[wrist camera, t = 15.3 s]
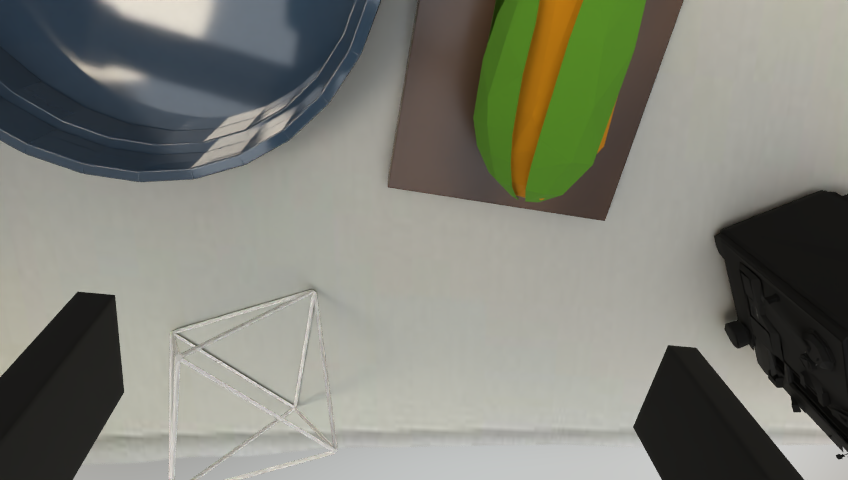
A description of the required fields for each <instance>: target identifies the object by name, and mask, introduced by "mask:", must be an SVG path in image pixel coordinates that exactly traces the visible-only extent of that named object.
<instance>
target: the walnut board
mask: <svg viewBox="0 0 848 480" xmlns="http://www.w3.org/2000/svg"><path fill="white" fill-rule="evenodd" d="M495 2H496V0H418V2H417V8H416V14H415V20H414V26H413V32H412V38H411V44H410V50H409V56H408V62H407V68H406V74H405V80H404V86H403V92H402V98H401V104H400V110H399V116H398V121H397V127H396V133H395V139H394V145H393V151H392V157H391V163H390V169H389V175H388V187H390V188H397V189H403V190H409V191H416V192H422V193H429V194H435V195H442V196H448V197H454V198H461V199H467V200H474V201H480V202H487V203H493V204H499V205H506V206H512V207H519V208H525V209H532V210H538V211H544V212H551V213H557V214H564V215H570V216H577V217H583V218H590V219H596V220H602V221H605V219H606V216H607V213H608V210H609V208H610V205H611V202H612V199H613V196H614V194H615V191H616V188H617V185H618V182H619V180H620V177H621V174H622V171H623V168H624V166H625V163H626V160H627V157H628V154H629V152H630V149H631V146H632V143H633V140H634V138H635V135H636V132H637V129H638V126H639V124H640V121H641V118H642V115H643V112H644V109H645V107H646V104H647V101H648V98H649V95H650V93H651V90H652V87H653V84H654V81H655V79H656V76H657V73H658V70H659V67H660V65H661V62H662V59H663V56H664V53H665V51H666V48H667V45H668V42H669V39H670V37H671V34H672V31H673V28H674V25H675V23H676V20H677V17H678V14H679V11H680V9H681V6H682V3H683V0H646V3H645V7H644V12H643V16H642V20H641V24H640V29H639V33H638V37H637V41H636V46H635V50H634V53H633V55H632V58H631V61H630V64H629V66H628V69H627V72H626V75H625V77H624V80H623V83H622V86H621V88H620V91H619V94H618V97H617V101H616V104H615V108H614V112H613V115H612V119H611V123H610V126H609V130H608V133H607V137H606V141H605V144H604V147H603V148H602V149H601V150H600V151H599V152H598V153H597V154H596V157H595V160H594V163H593V165H592V166H591V167H590V168H589V169H588V170H587V171H586V172H585V173H584V174H583V175H582V176H581V177H580V178H579V179H578V180H577V181H576V182H575V183H574V184H573V185H572V186H571V187H570V188H569V189H568V190H567V191H566V192H565V193H564V194H563V195H561V196H558V197H554V198H551V199H548V200H545V201H541V202H538V203H537V202H526V201H525V198H524V197H520V196H517V195H516V197H518V198H519V199H518V200H517V199H516V198H514V197H513V196H511V195H510V194H509V193H508V192H507V191H506V190H505V189H504V188H503V187H502V186H501V185H500V184H499V183H498V181H497V180H496V179H495V178H494V177H493V176H492V175H491V174H490V173H489V172H488V170H487V167H486V165H485V163H484V160H483V158H482V156H481V153H480V151H479V149H478V147H477V142H476V134H475V127H474V120H473V116H474V110H475V104H476V98H477V92H478V86H479V80H480V73H481V67H482V61H483V57H484V54H485V51H486V48H487V43H488V38H489V33H490V28H491V23H492V18H493V12H494V7H495Z"/></svg>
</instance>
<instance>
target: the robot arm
mask: <svg viewBox="0 0 848 480" xmlns="http://www.w3.org/2000/svg"><path fill="white" fill-rule="evenodd" d="M123 393H124V385H123V375H122V364H121V354H120V343H119V333H118V322H117V312H116V301H115V295H107V294H96V293H85V292H77V293H76V294H75V295H74V296H73V298H72V299H71V300H70V301H69V302H68V303H67V304H66V305H65V306H64V307H63V309H62V310H61V311H60V312H59V313H58V314H57V315H56V316H55V317H54V319H53V320H52V321H51V322H50V323H49V324H48V325H47V326H46V327H45V329H44V330H43V331H42V332H41V333H40V334H39V335H38V336H37V337H36V338H35V340H34V341H33V342H32V343H31V344H30V345H29V346H28V347H27V348H26V350H25V351H24V352H23V353H22V354H21V355H20V356H19V357H18V358H17V359H16V361H15V362H14V363H13V364H12V365H11V366H10V367H9V368H8V369H7V371H6V372H5V373H4V374H3V375H2V376H1V377H0V480H73V478H74V476H75V475H76V473H77V471H78V469H79V468H80V466H81V465H82V463H83V461H84V459H85V458H86V456H87V454H88V453H89V451H90V449H91V447H92V446H93V444H94V442H95V441H96V439H97V437H98V436H99V434H100V432H101V430H102V429H103V427H104V425H105V424H106V422H107V420H108V419H109V417H110V415H111V413H112V412H113V410H114V408H115V407H116V405H117V403H118V402H119V400H120V398H121V396H122V395H123ZM633 428H634V429H635V431H636V433H637V435H638V437H639V439H640V440H641V442H642V444H643V446H644V448H645V450H646V451H647V453H648V455H649V457H650V459H651V461H652V462H653V464H654V466H655V468H656V470H657V472H658V473H659V475H660V477H661V479H662V480H804V479H803V478H802V477H801V475H800V474H799V473H798V472H797V470H796V469H795V468H794V467H793V466H792V464H791V463H790V462H789V461H788V460H787V458H786V457H785V456H784V455H783V453H782V452H781V451H780V450H779V449H778V447H777V446H776V445H775V444H774V442H773V441H772V440H771V439H770V437H769V436H768V435H767V434H766V433H765V431H764V430H763V429H762V428H761V426H760V425H759V424H758V423H757V422H756V420H755V419H754V418H753V417H752V415H751V414H750V413H749V412H748V411H747V409H746V408H745V407H744V406H743V404H742V403H741V402H740V401H739V400H738V398H737V397H736V396H735V395H734V393H733V392H732V391H731V390H730V389H729V387H728V386H727V385H726V384H725V382H724V381H723V380H722V379H721V378H720V376H719V375H718V374H717V373H716V371H715V370H714V369H713V368H712V367H711V365H710V364H709V363H708V362H707V360H706V359H705V358H704V357H703V356H702V354H701V353H700V352H699V351H698V349H697V348H692V347H681V346H670V345H668V347H667V349H666V352H665V354H664V356H663V359H662V361H661V363H660V366H659V368H658V370H657V373H656V375H655V377H654V380H653V382H652V384H651V387H650V389H649V391H648V394H647V396H646V398H645V401H644V403H643V405H642V408H641V410H640V412H639V415H638V417H637V419H636V422H635V424H634V426H633Z"/></svg>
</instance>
